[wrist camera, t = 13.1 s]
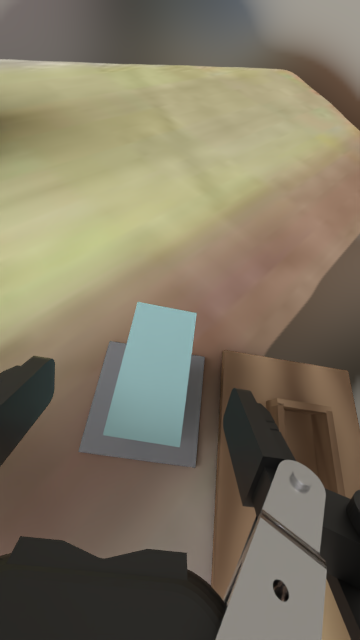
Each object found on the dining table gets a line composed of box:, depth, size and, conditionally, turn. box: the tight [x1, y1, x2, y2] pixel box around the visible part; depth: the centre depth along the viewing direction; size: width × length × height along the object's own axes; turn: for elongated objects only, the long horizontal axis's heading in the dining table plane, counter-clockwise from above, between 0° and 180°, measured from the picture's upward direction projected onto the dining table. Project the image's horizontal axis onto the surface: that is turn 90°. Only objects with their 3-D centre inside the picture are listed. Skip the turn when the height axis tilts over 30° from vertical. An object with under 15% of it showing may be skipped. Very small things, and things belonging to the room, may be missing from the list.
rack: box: [211, 350, 360, 600], centre depth 20 cm, size 14×21×3 cm, turn 172°
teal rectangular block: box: [103, 302, 197, 447], centre depth 16 cm, size 3×6×13 cm, turn 172°
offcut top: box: [322, 579, 351, 640], centre depth 15 cm, size 5×4×2 cm
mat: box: [78, 341, 205, 468], centre depth 22 cm, size 10×10×1 cm
